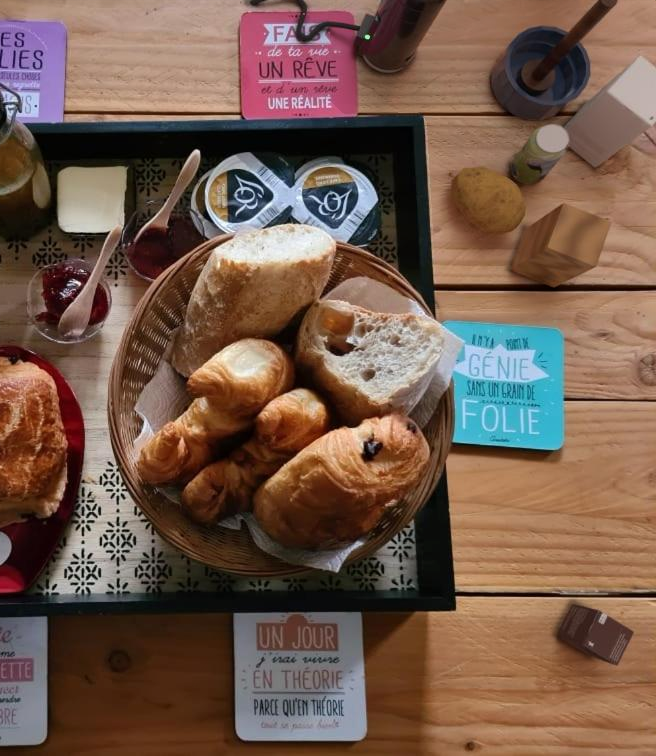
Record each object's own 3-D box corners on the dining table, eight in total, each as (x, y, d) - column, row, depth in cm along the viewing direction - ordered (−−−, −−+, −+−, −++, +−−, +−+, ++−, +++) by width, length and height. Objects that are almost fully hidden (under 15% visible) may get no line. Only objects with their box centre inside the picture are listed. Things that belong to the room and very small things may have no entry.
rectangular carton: (625, 134, 130) (687, 89, 115) (594, 169, 129) (652, 128, 114) (585, 101, 130) (641, 52, 116) (554, 136, 130) (606, 91, 115)
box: (588, 656, 117) (617, 667, 109) (554, 635, 117) (581, 645, 110) (605, 622, 118) (635, 631, 110) (572, 602, 118) (600, 609, 111)
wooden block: (509, 269, 126) (547, 247, 114) (524, 228, 127) (563, 202, 115) (553, 287, 126) (596, 267, 114) (568, 246, 127) (612, 221, 115)
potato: (498, 140, 120) (458, 171, 118) (551, 203, 119) (511, 235, 117) (467, 165, 129) (429, 195, 127) (516, 224, 128) (478, 254, 126)
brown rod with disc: (524, 100, 130) (599, 23, 108) (510, 71, 130) (582, -12, 109) (554, 90, 130) (636, 10, 108) (541, 60, 131) (619, -25, 109)
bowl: (477, 104, 130) (493, 85, 124) (504, 34, 132) (521, 13, 126) (555, 134, 130) (575, 117, 124) (581, 64, 132) (601, 44, 126)
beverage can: (543, 187, 128) (584, 157, 116) (501, 186, 128) (537, 156, 116) (541, 153, 129) (581, 120, 117) (500, 152, 129) (535, 119, 117)
